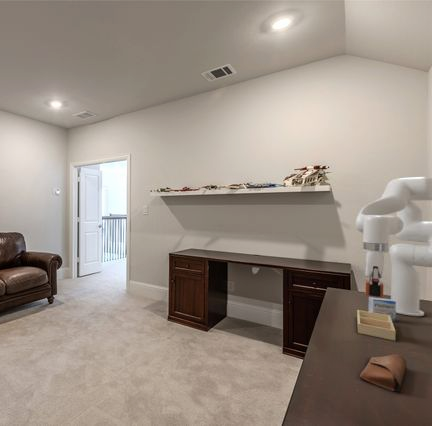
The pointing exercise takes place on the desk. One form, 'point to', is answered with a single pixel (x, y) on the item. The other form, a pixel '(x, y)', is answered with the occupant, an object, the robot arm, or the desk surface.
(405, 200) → the robot arm
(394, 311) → the medicine box
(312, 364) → the desk surface
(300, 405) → the desk surface
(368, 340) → the desk surface
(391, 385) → the sunglasses case
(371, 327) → the sorter
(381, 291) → the terracotta block
